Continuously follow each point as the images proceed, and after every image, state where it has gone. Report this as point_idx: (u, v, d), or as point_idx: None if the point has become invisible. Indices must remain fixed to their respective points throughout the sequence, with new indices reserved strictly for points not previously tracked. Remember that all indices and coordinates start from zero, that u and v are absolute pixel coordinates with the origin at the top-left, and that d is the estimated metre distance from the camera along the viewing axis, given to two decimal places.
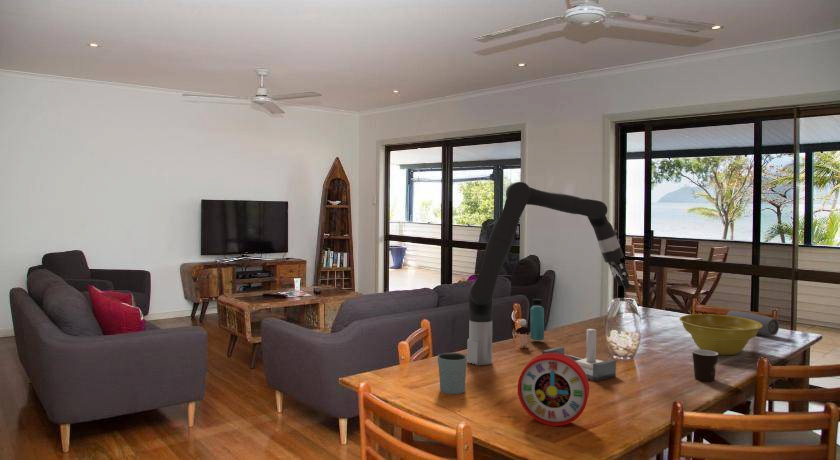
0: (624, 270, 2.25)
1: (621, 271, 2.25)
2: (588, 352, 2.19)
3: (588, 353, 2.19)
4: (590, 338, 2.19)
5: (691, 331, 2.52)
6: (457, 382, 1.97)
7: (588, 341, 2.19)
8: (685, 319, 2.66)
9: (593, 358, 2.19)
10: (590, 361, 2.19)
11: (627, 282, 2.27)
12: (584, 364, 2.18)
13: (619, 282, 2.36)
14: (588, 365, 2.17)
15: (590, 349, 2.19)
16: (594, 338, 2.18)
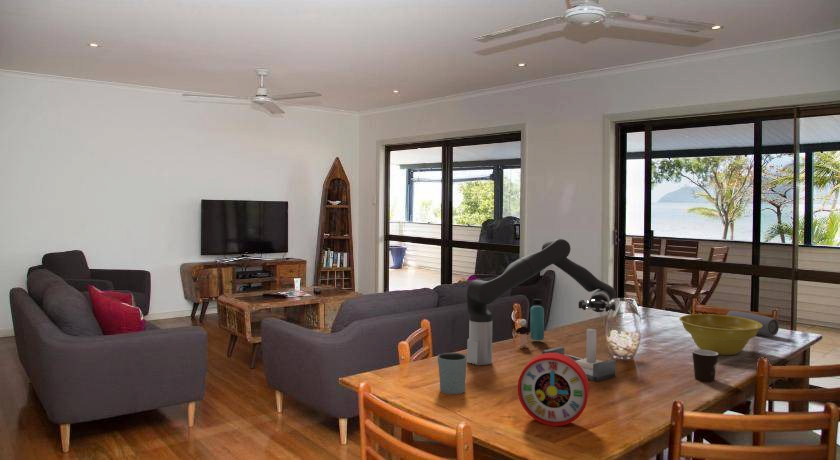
0: (615, 307, 2.35)
1: (615, 304, 2.35)
2: (588, 352, 2.19)
3: (588, 353, 2.19)
4: (590, 338, 2.19)
5: (691, 331, 2.52)
6: (457, 382, 1.97)
7: (588, 341, 2.19)
8: (685, 319, 2.66)
9: (593, 358, 2.19)
10: (590, 361, 2.19)
11: (609, 309, 2.31)
12: (584, 364, 2.18)
13: (585, 306, 2.33)
14: (588, 365, 2.17)
15: (590, 349, 2.19)
16: (594, 338, 2.18)
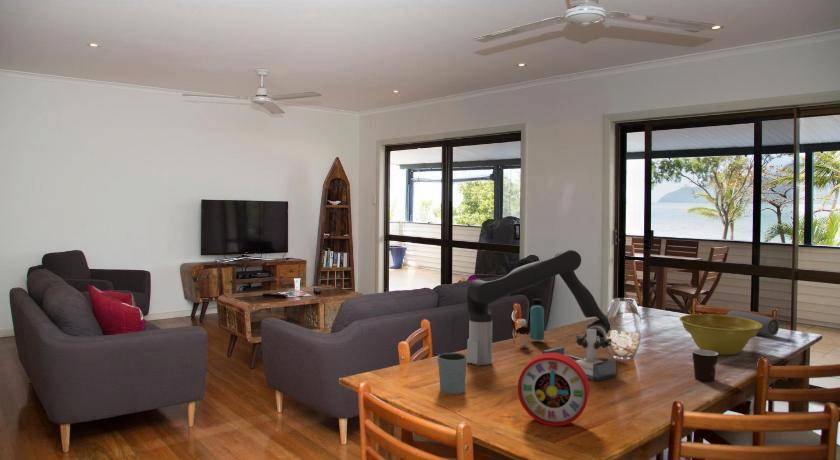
0: (608, 344, 2.22)
1: (608, 341, 2.22)
2: (588, 352, 2.19)
3: (588, 353, 2.19)
4: (590, 338, 2.19)
5: (691, 331, 2.52)
6: (457, 382, 1.97)
7: (588, 341, 2.19)
8: (685, 319, 2.66)
9: (593, 358, 2.19)
10: (590, 361, 2.19)
11: (599, 346, 2.19)
12: (584, 364, 2.18)
13: (585, 344, 2.19)
14: (588, 365, 2.17)
15: (590, 349, 2.19)
16: (594, 338, 2.18)
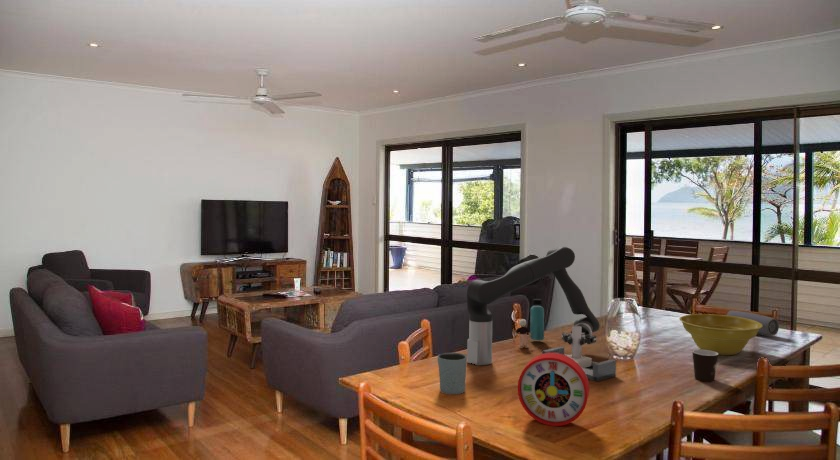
0: (593, 341, 2.27)
1: (593, 338, 2.27)
2: (573, 348, 2.25)
3: (573, 349, 2.25)
4: (575, 334, 2.24)
5: (691, 331, 2.52)
6: (457, 382, 1.97)
7: (573, 338, 2.24)
8: (685, 319, 2.66)
9: (578, 354, 2.24)
10: (575, 357, 2.24)
11: (584, 343, 2.24)
12: None
13: (571, 340, 2.25)
14: None
15: (575, 346, 2.24)
16: (579, 335, 2.24)
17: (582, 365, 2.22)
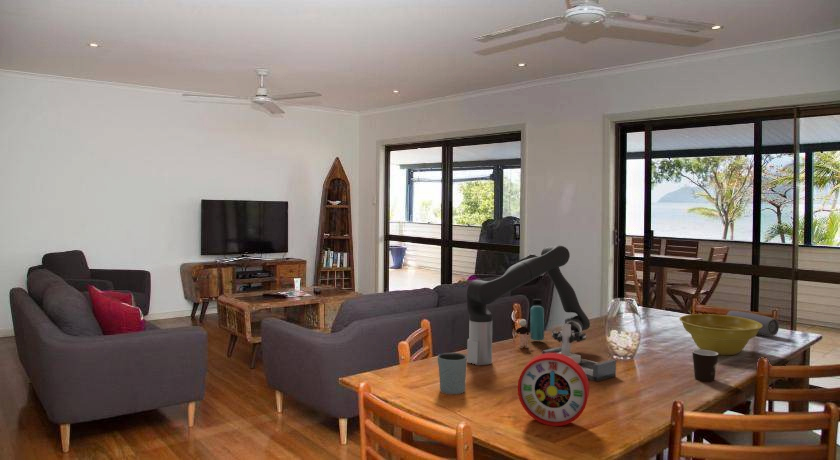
0: (582, 338, 2.31)
1: (582, 335, 2.31)
2: (563, 346, 2.29)
3: (563, 347, 2.29)
4: (564, 332, 2.28)
5: (691, 331, 2.52)
6: (457, 382, 1.97)
7: (563, 335, 2.28)
8: (685, 319, 2.66)
9: (568, 351, 2.28)
10: (565, 354, 2.28)
11: (573, 340, 2.28)
12: None
13: (560, 338, 2.29)
14: None
15: (565, 343, 2.28)
16: (568, 332, 2.28)
17: None
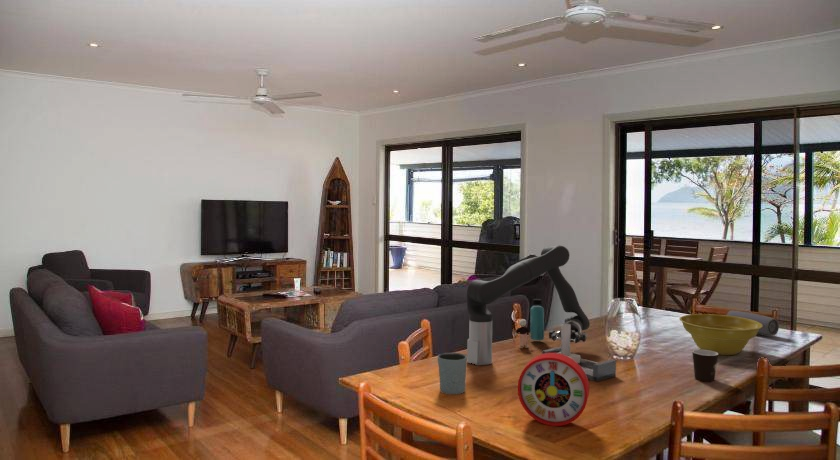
0: (585, 338, 2.32)
1: (585, 335, 2.32)
2: (563, 346, 2.29)
3: (563, 347, 2.29)
4: (564, 332, 2.28)
5: (691, 331, 2.52)
6: (457, 382, 1.97)
7: (562, 335, 2.29)
8: (685, 319, 2.66)
9: (567, 351, 2.28)
10: (564, 354, 2.28)
11: (579, 340, 2.28)
12: None
13: (555, 337, 2.31)
14: None
15: (564, 343, 2.28)
16: (568, 332, 2.28)
17: None
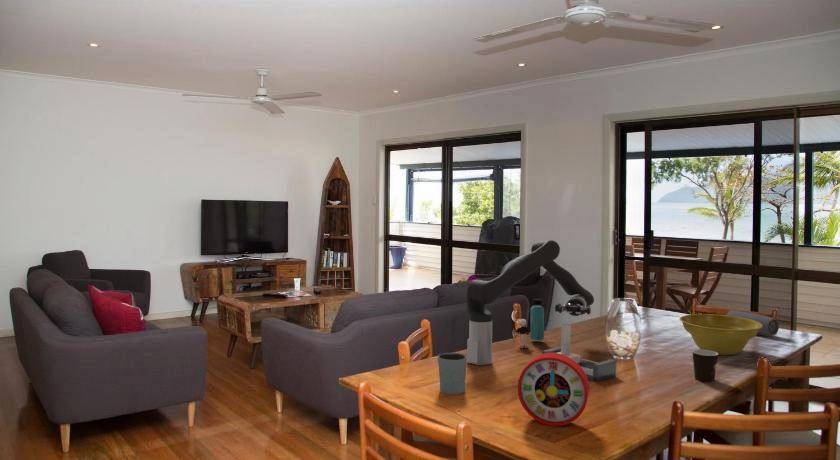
0: (590, 311, 2.43)
1: (590, 308, 2.43)
2: (563, 346, 2.29)
3: (563, 347, 2.29)
4: (564, 332, 2.28)
5: (691, 331, 2.52)
6: (457, 382, 1.97)
7: (562, 335, 2.29)
8: (685, 319, 2.66)
9: (567, 351, 2.28)
10: (564, 354, 2.28)
11: (584, 312, 2.39)
12: None
13: (561, 309, 2.42)
14: None
15: (564, 343, 2.28)
16: (568, 332, 2.28)
17: None
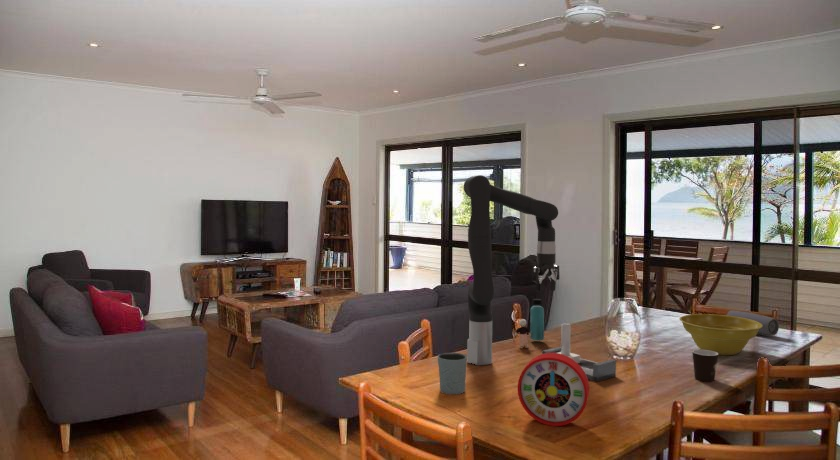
0: None
1: None
2: (563, 346, 2.29)
3: (563, 347, 2.29)
4: (564, 332, 2.28)
5: (691, 331, 2.52)
6: (457, 382, 1.97)
7: (562, 335, 2.29)
8: (685, 319, 2.66)
9: (567, 351, 2.28)
10: (564, 354, 2.28)
11: None
12: None
13: None
14: None
15: (564, 343, 2.28)
16: (568, 332, 2.28)
17: None
